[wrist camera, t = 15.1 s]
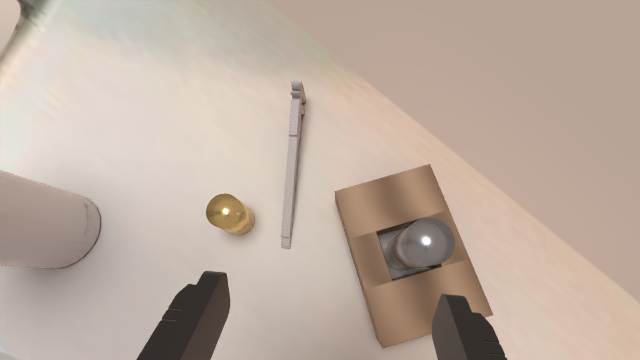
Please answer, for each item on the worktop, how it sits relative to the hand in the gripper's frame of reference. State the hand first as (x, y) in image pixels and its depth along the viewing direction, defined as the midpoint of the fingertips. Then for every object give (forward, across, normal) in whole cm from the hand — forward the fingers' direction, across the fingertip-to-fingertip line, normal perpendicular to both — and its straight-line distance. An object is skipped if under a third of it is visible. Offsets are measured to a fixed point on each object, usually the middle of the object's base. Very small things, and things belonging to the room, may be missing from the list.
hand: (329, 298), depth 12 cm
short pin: (+22, +12, +14) cm, 29 cm away
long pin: (+20, -8, +15) cm, 26 cm away
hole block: (+20, -8, +15) cm, 26 cm away
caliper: (+28, +6, +9) cm, 30 cm away
